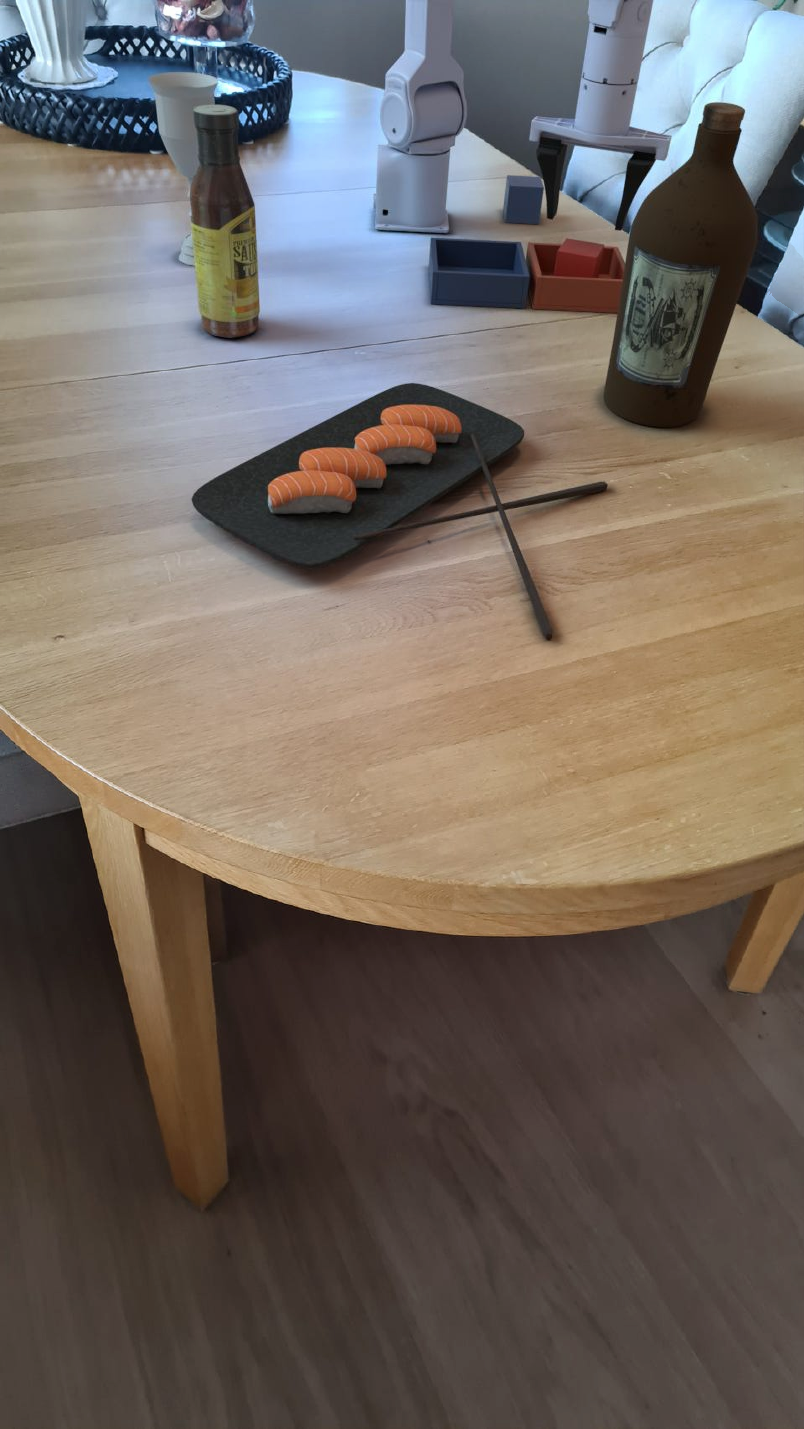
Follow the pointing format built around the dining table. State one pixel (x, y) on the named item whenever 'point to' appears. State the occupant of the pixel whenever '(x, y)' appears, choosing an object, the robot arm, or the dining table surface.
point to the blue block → (523, 199)
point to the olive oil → (682, 280)
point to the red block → (579, 259)
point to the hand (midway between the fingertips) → (585, 222)
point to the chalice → (182, 125)
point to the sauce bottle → (223, 228)
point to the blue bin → (478, 273)
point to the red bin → (573, 282)
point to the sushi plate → (369, 479)
